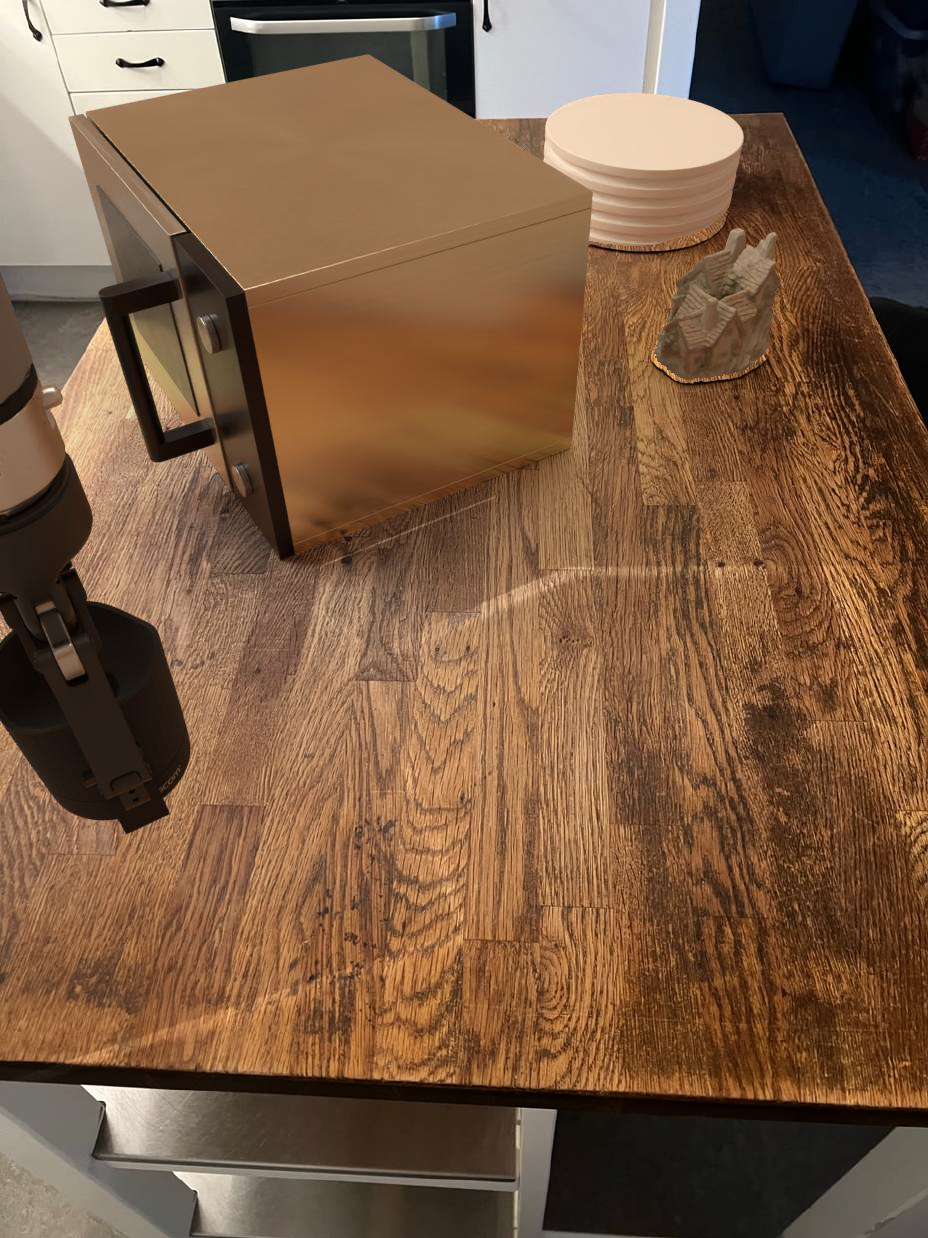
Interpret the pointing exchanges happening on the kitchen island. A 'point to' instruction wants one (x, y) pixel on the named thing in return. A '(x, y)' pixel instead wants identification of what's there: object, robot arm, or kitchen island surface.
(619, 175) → the plate stack
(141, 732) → the pen holder
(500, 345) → the microwave
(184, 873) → the kitchen island surface
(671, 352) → the ceramic cottage
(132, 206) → the microwave door
